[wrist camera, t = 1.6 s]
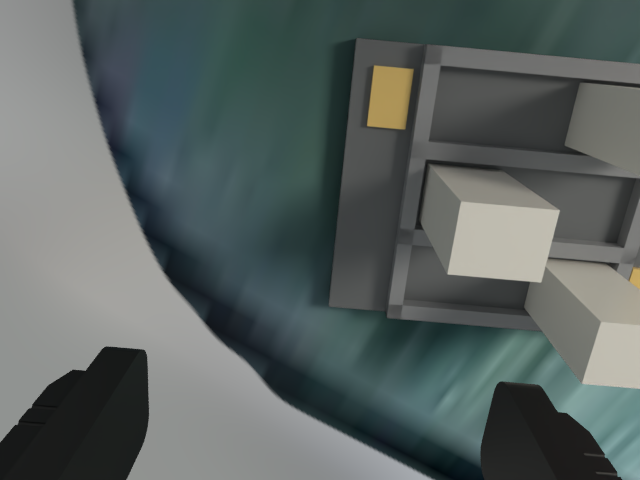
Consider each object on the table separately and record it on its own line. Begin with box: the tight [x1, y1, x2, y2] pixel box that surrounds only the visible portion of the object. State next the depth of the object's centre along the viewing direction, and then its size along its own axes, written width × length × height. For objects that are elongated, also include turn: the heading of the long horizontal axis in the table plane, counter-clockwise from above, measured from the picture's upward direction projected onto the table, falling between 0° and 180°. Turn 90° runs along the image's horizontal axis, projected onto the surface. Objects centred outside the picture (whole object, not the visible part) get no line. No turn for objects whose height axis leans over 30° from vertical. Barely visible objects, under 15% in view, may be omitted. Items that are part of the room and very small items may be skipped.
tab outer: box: [524, 258, 640, 389], centre depth 27 cm, size 4×3×8 cm
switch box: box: [329, 38, 640, 331], centre depth 28 cm, size 20×15×2 cm
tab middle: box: [419, 163, 560, 283], centre depth 25 cm, size 4×3×8 cm
